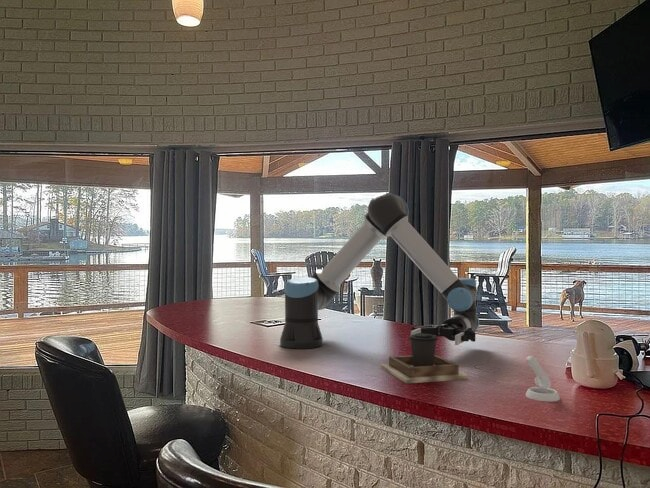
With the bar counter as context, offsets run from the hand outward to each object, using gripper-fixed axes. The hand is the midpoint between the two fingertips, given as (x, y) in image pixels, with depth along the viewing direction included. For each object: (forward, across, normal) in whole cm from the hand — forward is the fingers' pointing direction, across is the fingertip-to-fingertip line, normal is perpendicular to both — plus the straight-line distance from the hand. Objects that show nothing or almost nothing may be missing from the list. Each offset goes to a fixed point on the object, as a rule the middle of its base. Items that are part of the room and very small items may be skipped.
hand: (433, 338), depth 160 cm
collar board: (+9, 0, -8) cm, 12 cm away
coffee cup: (+9, 0, -8) cm, 12 cm away
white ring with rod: (+15, -33, -9) cm, 37 cm away
